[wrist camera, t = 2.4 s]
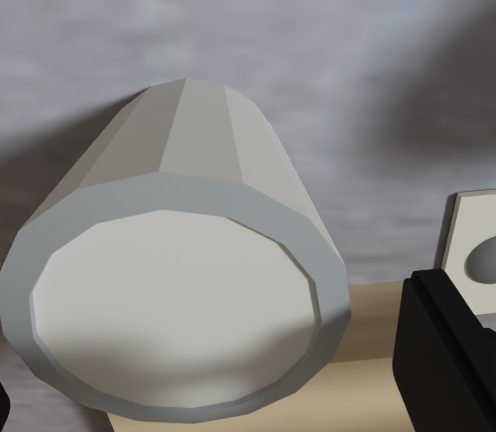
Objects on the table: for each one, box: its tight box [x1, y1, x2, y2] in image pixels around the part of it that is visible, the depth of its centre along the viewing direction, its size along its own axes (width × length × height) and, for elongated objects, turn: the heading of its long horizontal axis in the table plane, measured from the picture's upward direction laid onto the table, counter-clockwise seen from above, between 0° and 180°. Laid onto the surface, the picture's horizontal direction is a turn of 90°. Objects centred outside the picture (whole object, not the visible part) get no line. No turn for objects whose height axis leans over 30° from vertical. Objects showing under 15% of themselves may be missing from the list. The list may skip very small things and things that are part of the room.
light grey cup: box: [0, 78, 351, 424], centre depth 12 cm, size 7×7×7 cm
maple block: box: [107, 281, 415, 432], centre depth 20 cm, size 12×12×4 cm
